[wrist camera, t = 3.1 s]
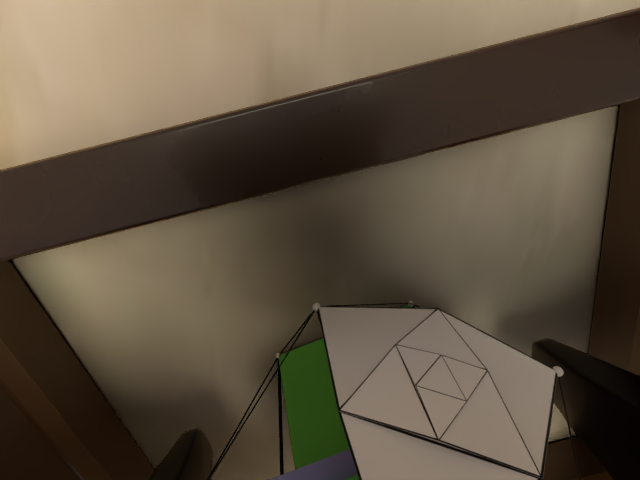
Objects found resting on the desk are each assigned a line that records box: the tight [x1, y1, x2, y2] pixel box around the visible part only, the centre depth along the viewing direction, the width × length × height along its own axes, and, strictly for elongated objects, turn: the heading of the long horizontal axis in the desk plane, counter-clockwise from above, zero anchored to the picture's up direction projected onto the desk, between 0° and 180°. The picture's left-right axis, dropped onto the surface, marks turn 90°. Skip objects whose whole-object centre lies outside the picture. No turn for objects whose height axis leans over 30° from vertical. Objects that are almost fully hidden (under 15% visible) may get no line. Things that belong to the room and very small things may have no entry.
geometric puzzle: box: [207, 301, 581, 480], centre depth 7 cm, size 7×7×8 cm
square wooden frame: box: [0, 8, 640, 480], centre depth 8 cm, size 17×15×4 cm
